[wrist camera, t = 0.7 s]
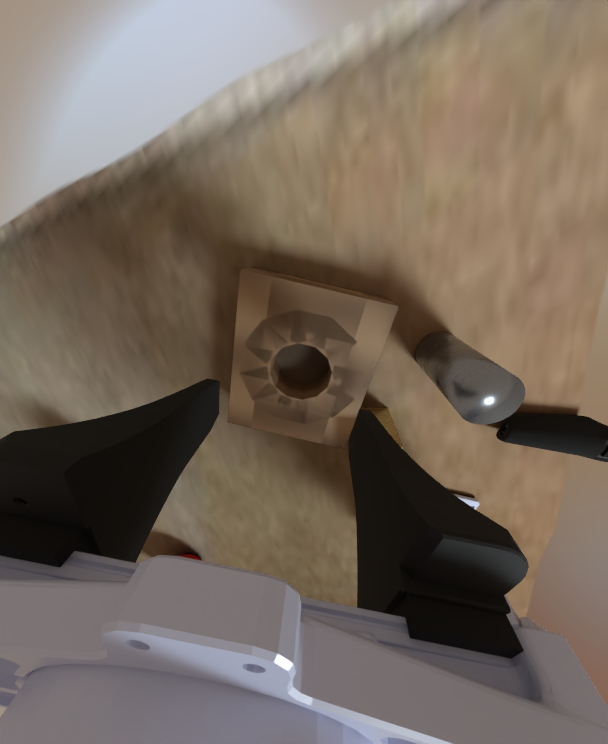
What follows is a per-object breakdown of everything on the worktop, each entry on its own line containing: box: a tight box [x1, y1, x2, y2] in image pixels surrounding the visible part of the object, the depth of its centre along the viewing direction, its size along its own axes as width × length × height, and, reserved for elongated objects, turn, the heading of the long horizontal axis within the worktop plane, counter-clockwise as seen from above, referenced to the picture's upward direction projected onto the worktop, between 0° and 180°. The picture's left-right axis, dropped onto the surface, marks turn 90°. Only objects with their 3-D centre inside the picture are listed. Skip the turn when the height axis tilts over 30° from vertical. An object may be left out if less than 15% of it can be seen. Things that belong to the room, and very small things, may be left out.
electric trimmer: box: [496, 414, 608, 462], centre depth 20 cm, size 4×16×3 cm, turn 83°
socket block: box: [228, 267, 399, 449], centre depth 19 cm, size 12×10×3 cm
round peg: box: [415, 332, 525, 424], centre depth 16 cm, size 3×3×7 cm
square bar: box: [348, 407, 403, 449], centre depth 20 cm, size 3×3×5 cm
